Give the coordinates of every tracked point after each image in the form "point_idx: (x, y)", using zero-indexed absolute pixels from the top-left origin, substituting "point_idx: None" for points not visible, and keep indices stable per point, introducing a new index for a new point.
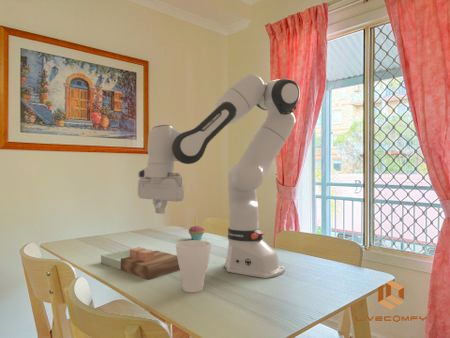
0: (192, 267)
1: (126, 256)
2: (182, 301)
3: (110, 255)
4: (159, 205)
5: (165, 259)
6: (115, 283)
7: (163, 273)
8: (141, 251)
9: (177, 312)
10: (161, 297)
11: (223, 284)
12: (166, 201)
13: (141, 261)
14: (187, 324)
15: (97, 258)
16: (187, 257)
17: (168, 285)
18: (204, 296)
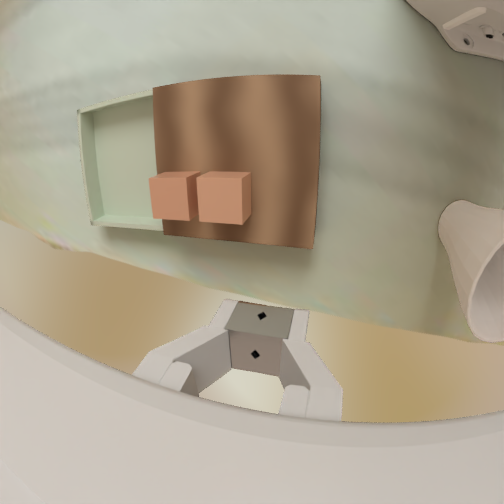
0: (498, 289)
1: (94, 144)
2: None
3: (92, 198)
4: (206, 344)
5: (283, 145)
6: (268, 296)
7: (318, 178)
8: (210, 216)
9: None
10: (422, 300)
11: (500, 155)
12: (337, 418)
13: None
14: None
15: (70, 199)
16: (500, 317)
17: (394, 238)
18: None
